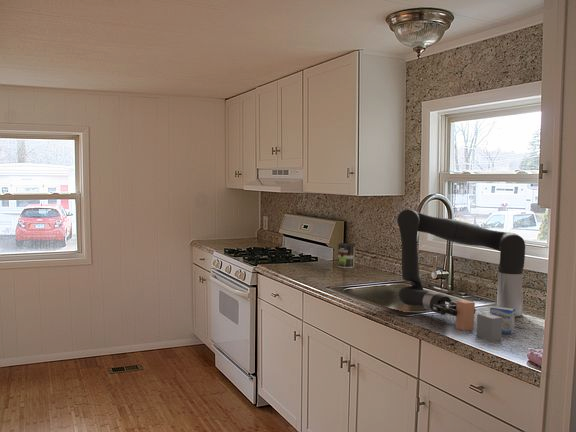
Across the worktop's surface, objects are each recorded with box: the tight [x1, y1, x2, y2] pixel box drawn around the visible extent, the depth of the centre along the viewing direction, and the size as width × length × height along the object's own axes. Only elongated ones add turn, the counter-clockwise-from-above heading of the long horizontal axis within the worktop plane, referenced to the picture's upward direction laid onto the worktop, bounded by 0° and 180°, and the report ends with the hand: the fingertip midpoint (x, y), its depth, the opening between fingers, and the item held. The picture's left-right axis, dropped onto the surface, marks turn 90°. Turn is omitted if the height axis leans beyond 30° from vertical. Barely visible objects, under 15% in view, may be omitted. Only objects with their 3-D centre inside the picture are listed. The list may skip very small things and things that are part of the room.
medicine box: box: [489, 305, 516, 335], centre depth 200 cm, size 8×4×9 cm, turn 56°
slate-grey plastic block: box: [476, 312, 503, 343], centre depth 191 cm, size 4×7×8 cm, turn 24°
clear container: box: [337, 242, 356, 269], centre depth 338 cm, size 10×10×14 cm
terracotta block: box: [455, 299, 476, 331], centre depth 203 cm, size 4×4×10 cm
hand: (465, 312), depth 203 cm, fingers open, 8 cm apart
